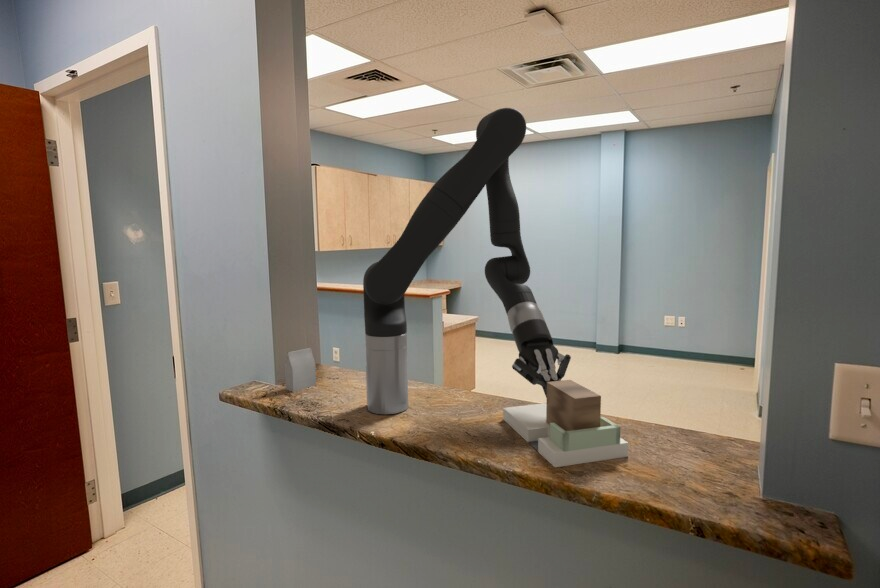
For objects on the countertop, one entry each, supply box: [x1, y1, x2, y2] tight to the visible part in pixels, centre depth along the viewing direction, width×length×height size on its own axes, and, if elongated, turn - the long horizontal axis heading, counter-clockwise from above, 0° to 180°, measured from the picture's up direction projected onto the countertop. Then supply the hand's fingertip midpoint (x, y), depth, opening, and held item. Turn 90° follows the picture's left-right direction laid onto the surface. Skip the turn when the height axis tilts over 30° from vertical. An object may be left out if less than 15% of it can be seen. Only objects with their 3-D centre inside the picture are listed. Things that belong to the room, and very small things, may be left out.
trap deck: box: [502, 402, 630, 468], centre depth 89 cm, size 22×14×6 cm, turn 15°
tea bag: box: [284, 347, 317, 393], centre depth 121 cm, size 4×7×10 cm, turn 139°
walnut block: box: [546, 379, 602, 431], centre depth 85 cm, size 10×5×8 cm, turn 15°
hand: (556, 400), depth 90 cm, fingers closed
